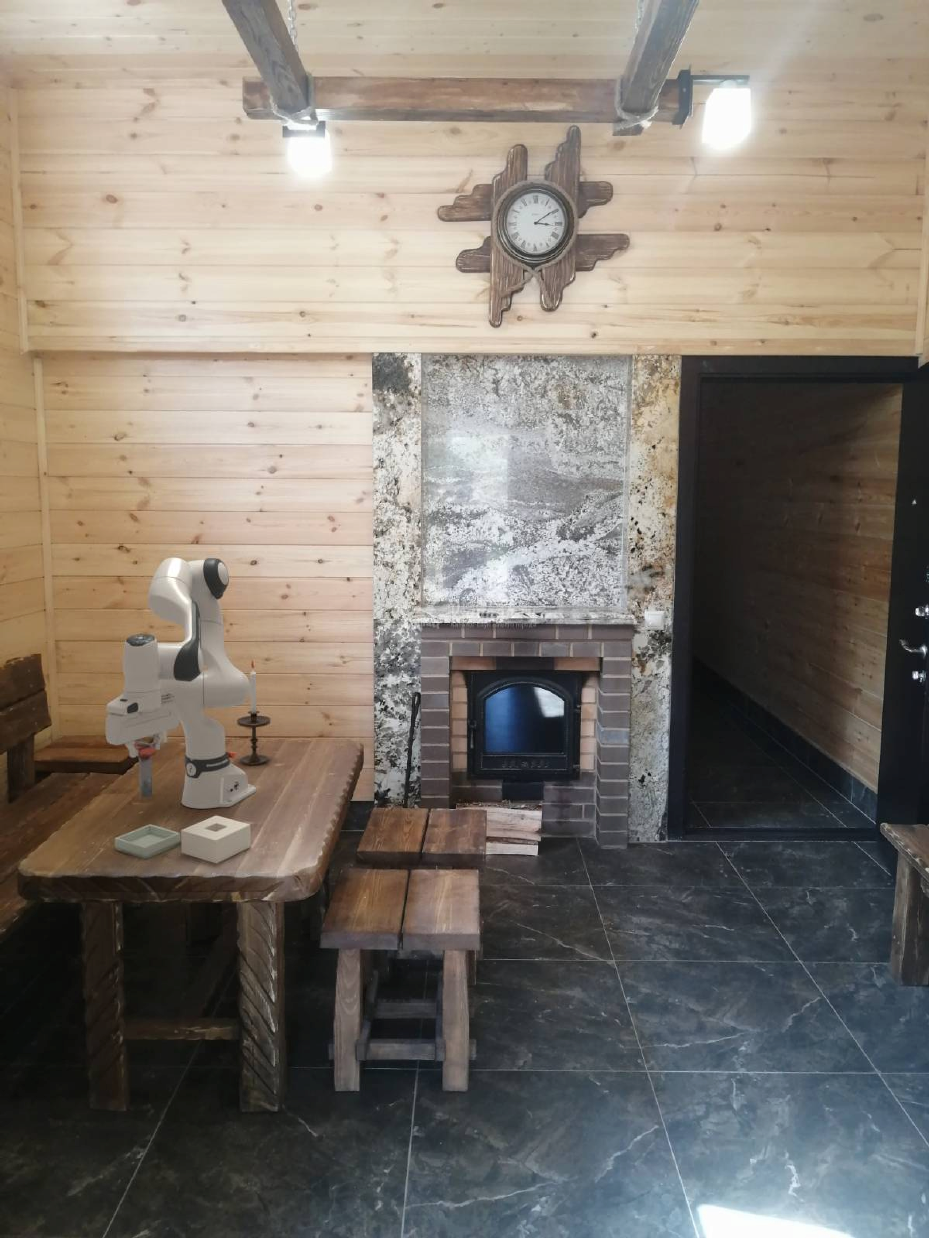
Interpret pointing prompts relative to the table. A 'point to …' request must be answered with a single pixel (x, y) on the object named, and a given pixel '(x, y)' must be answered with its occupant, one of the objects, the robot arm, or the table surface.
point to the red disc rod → (145, 767)
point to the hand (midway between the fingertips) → (144, 753)
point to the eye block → (215, 839)
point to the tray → (147, 841)
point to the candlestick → (253, 725)
